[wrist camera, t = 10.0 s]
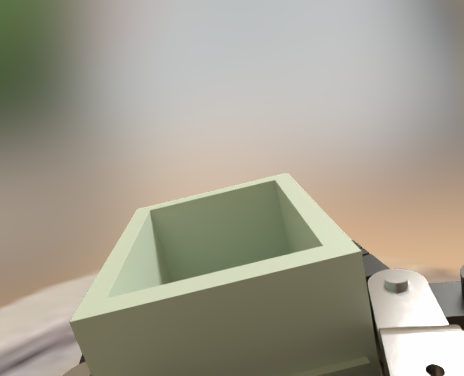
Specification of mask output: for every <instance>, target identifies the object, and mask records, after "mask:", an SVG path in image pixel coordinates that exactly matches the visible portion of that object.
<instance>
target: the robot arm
mask: <svg viewBox="0 0 464 376" xmlns="http://www.w3.org/2000/svg"><path fill="white" fill-rule="evenodd" d="M352 241H353V240H352ZM353 242H354V243H355V245H356V246H357V247H358V248H359V249H360V250H361V251H362V257H363V264H364V270H365V277H366V283H367V290H368V296H369V303H370V310H371V316H372V323H373V329H374V336H375V342H376V349H377V356H378V358H379V364H380V370H381V376H464V265H463V266H462V268H461V270H460V275H461V281H455V282H445V283H427V281H426V279H425V278H424V277H423V276H422V275H420V274H419V273H416V272H414V271H411V270H406V269H390V268H388V267H387V266H386V265H384V264H383V263H382V262H381V261H379V260H378V259H377V258H375V257H374V256H373V255H371V254H369V252H367V251H366V250H365V249H362V247H361V246H360V245H358V244H357V243H356V242H355V241H353ZM63 376H91V373H90V371H89V368H88V366H87V363H86V361H85V359H84V356H83V354H82V357H81V360H80V363H79V365H77V366H75V367H74V368H72V369H71V370H69V371H68V372H67V373H65V374H64V375H63Z"/></svg>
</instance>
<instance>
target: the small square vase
mask: <svg viewBox="0 0 464 376" xmlns="http://www.w3.org/2000/svg"><path fill="white" fill-rule="evenodd" d="M70 325H71V327H72V330H73V332H74V334H75V337H76V339H77V342H78V344H79V346H80V349H81V351H82V354H83V356H84V359H85V361H86V363H87V366H88V368H89V371H90V373H91V376H381V375H380V369H379V362H378V356H377V349H376V342H375V336H374V329H373V323H372V316H371V310H370V303H369V296H368V290H367V283H366V277H365V270H364V264H363V257H362V251H361V250H360V249H359V248H358V247H357V246H356V245H355V243H354V242H353V241H352V240H351V239H350V238H349V237H348V236H347V235H346V234H345V233H344V232H343V231H342V230H341V229H340V228H339V227H338V226H337V224H336V223H335V222H333V220H332V219H331V218H330V217H329V216H328V215H327V214H326V213H325V212H324V211H323V210H322V209H321V208H320V207H319V206H318V205H317V204H316V202H315V201H314V200H313V199H312V198H311V197H310V196H309V195H308V194H307V193H306V192H305V191H304V190H303V189H302V188H301V187H300V186H299V185H298V183H297V182H296V181H295V180H294V179H293V178H292V177H291V176H290V175H289V174H288V173H284V174H279V175H275V176H271V177H267V178H263V179H259V180H255V181H251V182H247V183H242V184H238V185H234V186H230V187H226V188H222V189H218V190H214V191H209V192H206V193H202V194H197V195H193V196H189V197H185V198H181V199H177V200H173V201H169V202H164V203H160V204H157V205H152V206H148V207H145V208H140V209H137V211H136V212H135V214H134V216H133V217H132V219H131V221H130V222H129V224H128V226H127V227H126V229H125V231H124V232H123V234H122V235H121V237H120V239H119V240H118V242H117V244H116V246H115V247H114V249H113V251H112V252H111V254H110V255H109V257H108V259H107V260H106V262H105V264H104V265H103V267H102V269H101V270H100V272H99V274H98V275H97V277H96V279H95V280H94V282H93V284H92V285H91V287H90V289H89V290H88V292H87V294H86V295H85V297H84V299H83V300H82V302H81V304H80V305H79V307H78V309H77V310H76V312H75V314H74V315H73V317H72V319H71V320H70Z"/></svg>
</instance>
